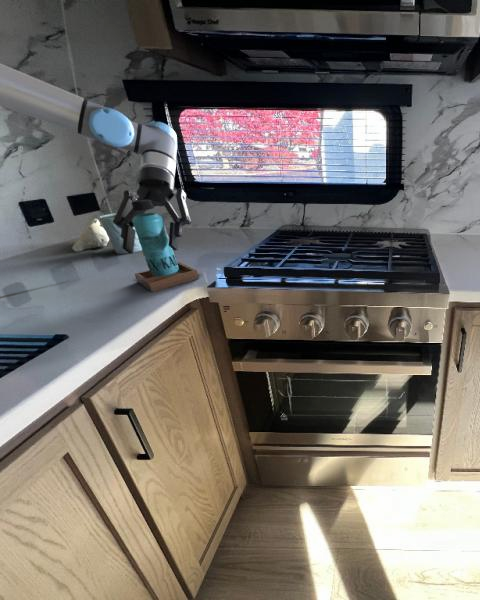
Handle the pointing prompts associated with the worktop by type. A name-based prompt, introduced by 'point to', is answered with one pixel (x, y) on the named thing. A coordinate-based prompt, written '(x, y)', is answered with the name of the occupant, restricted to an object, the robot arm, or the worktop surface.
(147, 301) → the worktop surface
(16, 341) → the worktop surface
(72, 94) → the robot arm
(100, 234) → the cream animal figurine
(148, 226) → the beverage bottle
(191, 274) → the brown wooden shallow tray
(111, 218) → the light blue embossed planter
